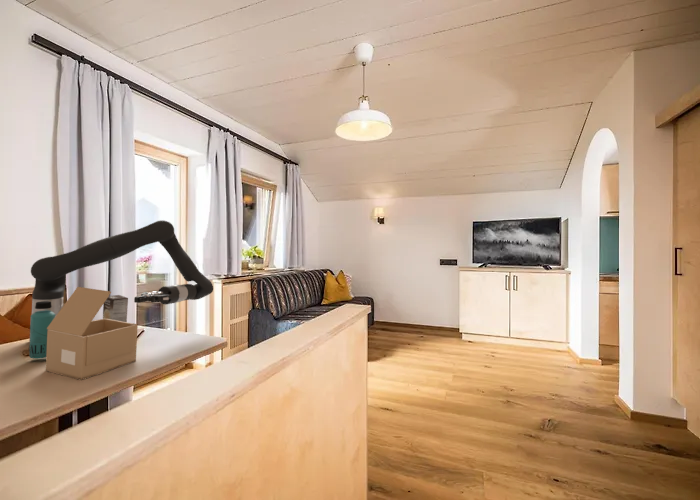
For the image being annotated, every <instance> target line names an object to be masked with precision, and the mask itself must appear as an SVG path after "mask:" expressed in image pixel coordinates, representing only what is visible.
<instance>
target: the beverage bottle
mask: <svg viewBox="0 0 700 500" xmlns="http://www.w3.org/2000/svg"><path fill="white" fill-rule="evenodd" d="M51 307H52V306H51V302H50V301H41V302H36V306H35V309H48V308H51ZM54 318H55V313H54V312H52V311H37V312H35V313H33V314H32V313H31V315H30V323H31V325H30V324H29V325H30V326H29V338H28V341H29V345H28V356H29V358H30V359H37V360H38V359H45V358H46V355H47V331H48V330H49V329H47V327H48V326H49V325H50V323H51V322H52V321H53V319H54Z"/></svg>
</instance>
